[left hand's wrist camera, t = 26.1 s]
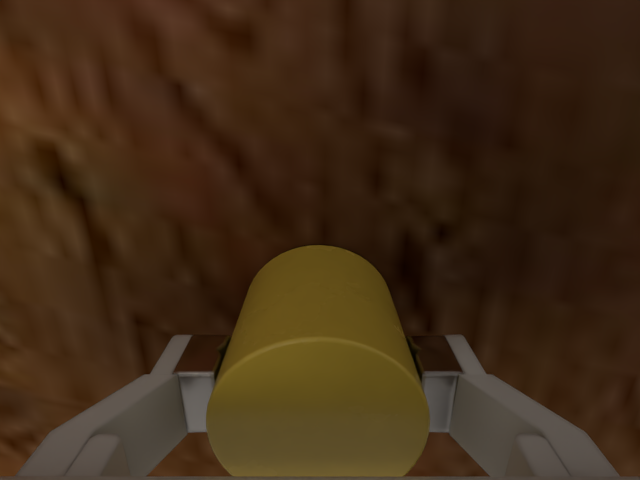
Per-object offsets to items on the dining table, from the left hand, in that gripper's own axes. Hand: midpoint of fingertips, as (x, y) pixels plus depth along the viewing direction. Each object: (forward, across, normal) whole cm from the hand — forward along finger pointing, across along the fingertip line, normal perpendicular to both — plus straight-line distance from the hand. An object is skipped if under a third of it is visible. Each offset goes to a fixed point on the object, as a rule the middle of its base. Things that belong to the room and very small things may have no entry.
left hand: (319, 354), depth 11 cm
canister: (+2, 0, 0) cm, 2 cm away
